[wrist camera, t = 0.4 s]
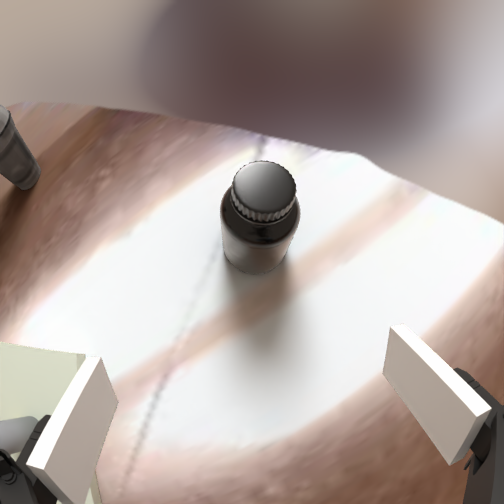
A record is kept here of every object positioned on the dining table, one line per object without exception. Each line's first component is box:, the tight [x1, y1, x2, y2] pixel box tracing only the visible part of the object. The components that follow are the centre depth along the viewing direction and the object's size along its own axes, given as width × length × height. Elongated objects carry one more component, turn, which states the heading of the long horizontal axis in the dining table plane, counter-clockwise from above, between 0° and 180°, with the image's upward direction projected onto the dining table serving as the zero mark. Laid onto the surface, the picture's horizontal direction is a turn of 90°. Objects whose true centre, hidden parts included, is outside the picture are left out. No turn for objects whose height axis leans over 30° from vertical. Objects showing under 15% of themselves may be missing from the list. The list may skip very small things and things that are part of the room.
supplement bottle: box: [220, 161, 300, 274], centre depth 28 cm, size 7×7×12 cm
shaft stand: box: [0, 342, 102, 504], centre depth 19 cm, size 20×14×12 cm
